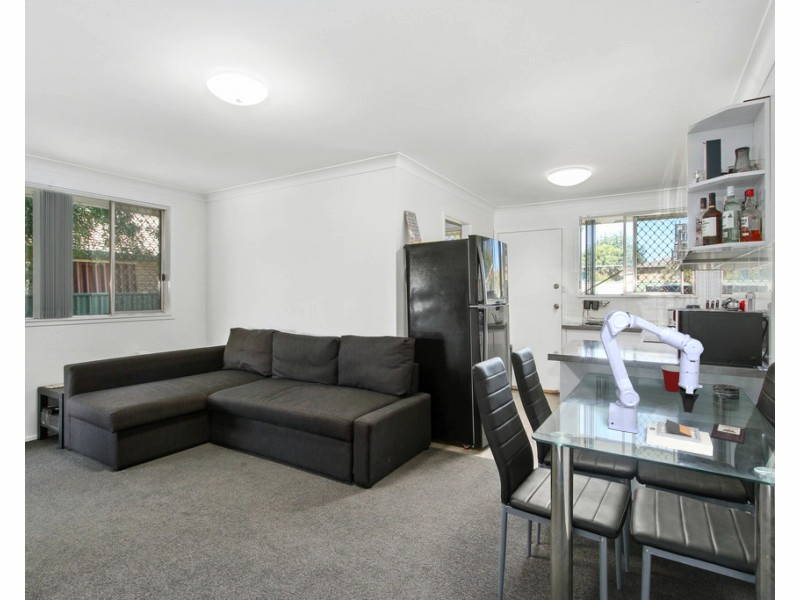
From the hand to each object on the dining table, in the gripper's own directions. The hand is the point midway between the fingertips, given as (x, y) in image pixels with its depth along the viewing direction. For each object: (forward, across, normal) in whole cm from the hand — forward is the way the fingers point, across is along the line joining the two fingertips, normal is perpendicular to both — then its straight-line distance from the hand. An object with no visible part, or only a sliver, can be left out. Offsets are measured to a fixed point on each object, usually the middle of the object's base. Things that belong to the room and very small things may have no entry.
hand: (687, 409), depth 150 cm
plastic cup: (+10, +73, +3) cm, 74 cm away
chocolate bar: (+10, +11, -13) cm, 20 cm away
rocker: (+6, -10, +3) cm, 12 cm away
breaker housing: (+9, -10, +3) cm, 14 cm away
